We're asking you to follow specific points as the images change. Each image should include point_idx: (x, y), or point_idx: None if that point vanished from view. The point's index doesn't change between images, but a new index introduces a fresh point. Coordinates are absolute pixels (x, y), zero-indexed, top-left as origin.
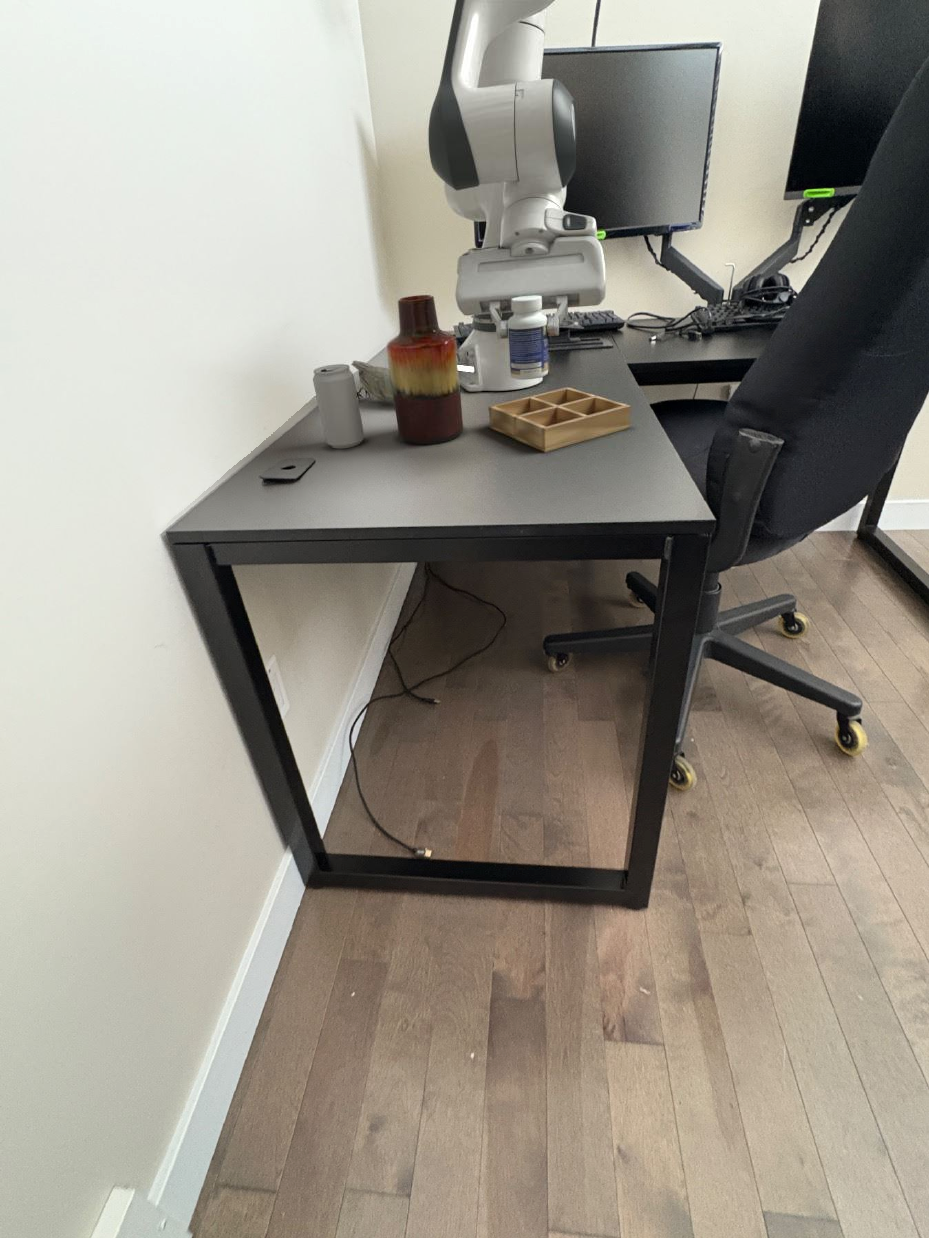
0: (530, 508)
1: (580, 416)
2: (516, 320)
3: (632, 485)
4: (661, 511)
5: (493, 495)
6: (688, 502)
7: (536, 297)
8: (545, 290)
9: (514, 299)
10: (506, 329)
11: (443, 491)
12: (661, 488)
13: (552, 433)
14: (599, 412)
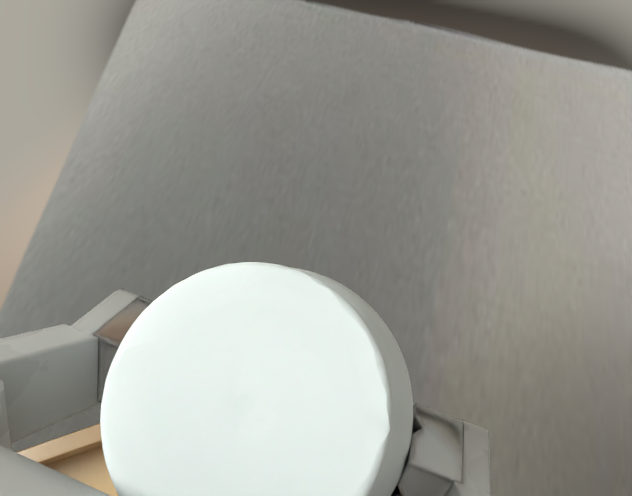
0: (402, 77)
1: None
2: (366, 322)
3: (184, 112)
4: (193, 7)
5: (464, 153)
6: (135, 23)
7: (168, 330)
8: (5, 467)
9: (365, 397)
10: (419, 408)
11: (576, 210)
12: (143, 84)
13: None
14: (65, 448)
